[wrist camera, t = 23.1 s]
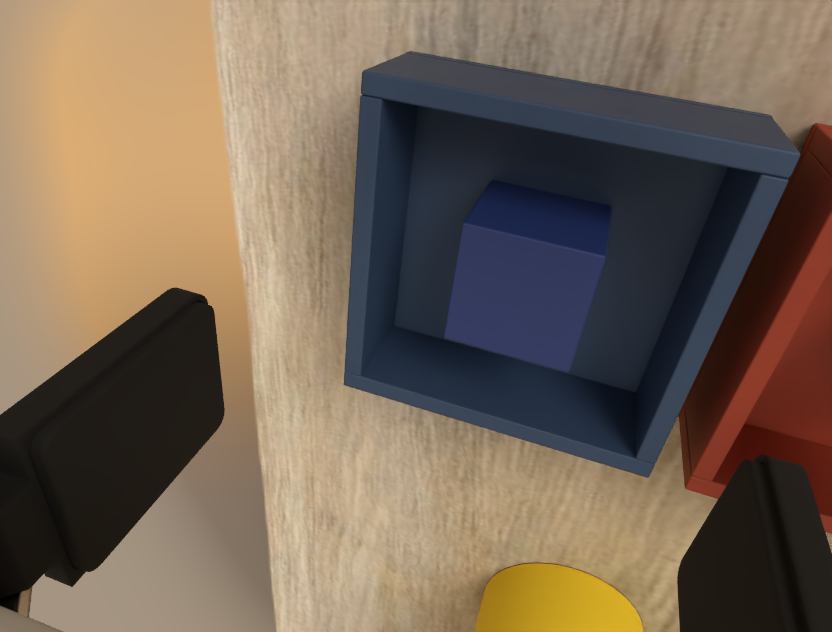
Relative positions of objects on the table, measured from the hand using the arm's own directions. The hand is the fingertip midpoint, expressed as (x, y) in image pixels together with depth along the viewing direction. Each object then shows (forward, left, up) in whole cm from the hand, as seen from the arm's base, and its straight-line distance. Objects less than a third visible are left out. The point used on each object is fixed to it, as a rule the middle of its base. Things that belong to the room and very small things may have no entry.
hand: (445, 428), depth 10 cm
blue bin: (+4, 0, -17) cm, 17 cm away
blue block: (+4, 0, -16) cm, 17 cm away
